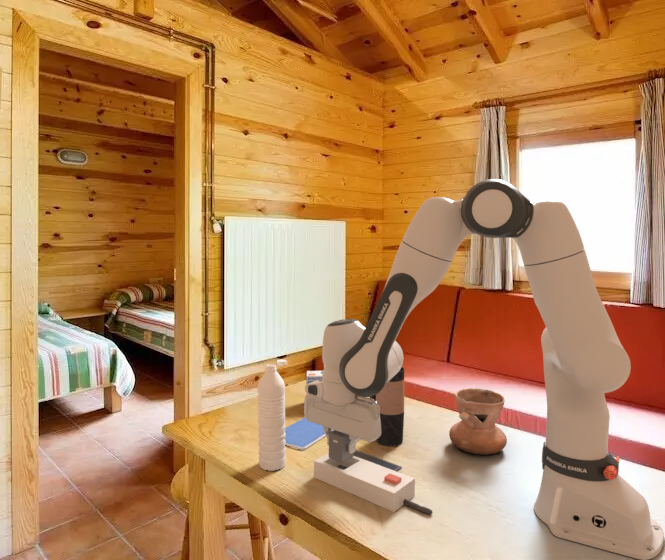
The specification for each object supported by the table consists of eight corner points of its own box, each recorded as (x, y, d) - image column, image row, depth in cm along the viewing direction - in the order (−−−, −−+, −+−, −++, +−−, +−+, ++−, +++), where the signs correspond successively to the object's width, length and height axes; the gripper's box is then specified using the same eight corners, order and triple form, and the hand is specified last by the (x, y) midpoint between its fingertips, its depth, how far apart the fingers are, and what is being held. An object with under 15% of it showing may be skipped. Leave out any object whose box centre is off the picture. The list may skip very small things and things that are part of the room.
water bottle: (275, 474, 119) (274, 370, 116) (253, 467, 122) (251, 366, 120) (296, 459, 127) (295, 361, 124) (274, 453, 130) (273, 357, 127)
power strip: (441, 506, 105) (442, 484, 105) (421, 524, 99) (422, 500, 99) (336, 464, 123) (336, 446, 123) (314, 477, 117) (314, 457, 117)
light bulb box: (338, 401, 168) (338, 369, 167) (339, 408, 162) (339, 375, 161) (306, 401, 168) (306, 369, 167) (306, 409, 161) (306, 376, 160)
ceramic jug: (486, 467, 122) (490, 410, 121) (435, 448, 132) (437, 395, 131) (519, 446, 135) (523, 394, 133) (470, 430, 145) (473, 381, 143)
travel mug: (402, 448, 133) (403, 373, 131) (373, 445, 134) (374, 371, 132) (404, 436, 140) (405, 365, 138) (376, 433, 142) (377, 364, 140)
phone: (401, 470, 122) (401, 466, 122) (384, 481, 117) (384, 477, 116) (356, 453, 131) (356, 449, 131) (338, 462, 126) (338, 458, 126)
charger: (353, 456, 117) (353, 431, 116) (342, 463, 114) (342, 437, 113) (339, 451, 119) (340, 427, 119) (328, 457, 116) (328, 432, 116)
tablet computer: (305, 419, 154) (305, 415, 154) (341, 428, 148) (341, 423, 147) (265, 442, 138) (265, 437, 138) (303, 453, 131) (303, 448, 131)
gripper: (387, 396, 111) (386, 457, 112) (317, 378, 124) (317, 432, 125) (370, 404, 106) (369, 467, 107) (299, 384, 119) (299, 440, 120)
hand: (341, 448), depth 116 cm, fingers closed on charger, 4 cm apart
